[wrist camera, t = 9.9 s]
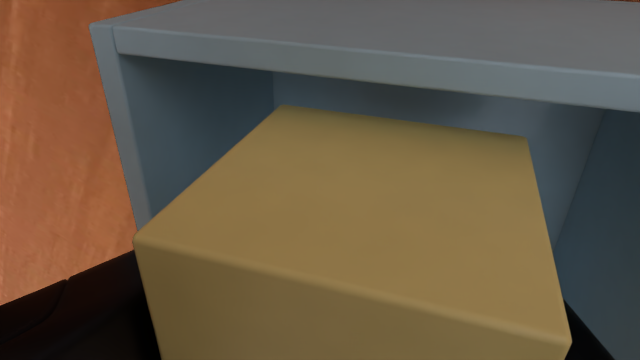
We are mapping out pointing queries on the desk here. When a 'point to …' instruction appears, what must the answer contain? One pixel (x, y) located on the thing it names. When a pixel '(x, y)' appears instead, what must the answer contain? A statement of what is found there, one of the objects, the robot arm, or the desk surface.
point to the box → (405, 104)
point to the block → (356, 247)
